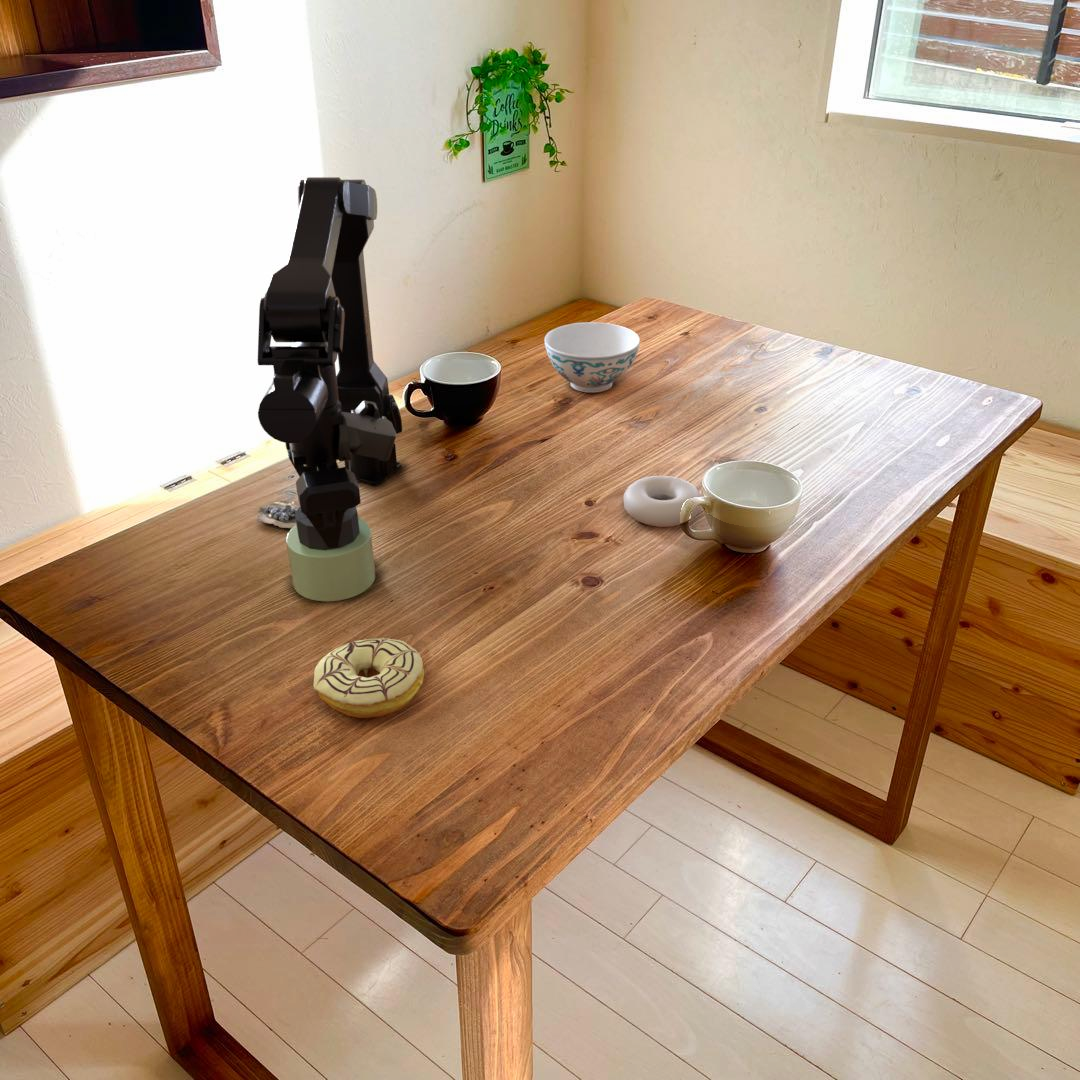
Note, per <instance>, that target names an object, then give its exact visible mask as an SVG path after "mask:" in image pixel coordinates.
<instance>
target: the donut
mask: <svg viewBox="0 0 1080 1080" xmlns="http://www.w3.org/2000/svg"><path fill="white" fill-rule="evenodd" d="M694 497H701V494H700V491H699V490H698V489H697V487H695V486H694V485H693V484H692V483H690V482H689V481H688V480H685V479H683V478H679V477H676V476H670V475H650V476H645V477H642V478H639V479H636V480H635V481H634V482H632V483H631V484H630V485H628V487H627V488H626V490H625V491H624V493H623V499H622V500H623V507H624V509H625V511H626V512H627V514H628V515H629V516H630V517H631V518H633V519H634V520H636V521H637V522H638V523H641V524H645V525H647V526H653V527H658V528H659V527H662V528H663V527H665V528H667V527H669V528H670V527H676V526H681V525H680V512H681V508H682V505H683V503H684V502H685V501H686V500H687V499H690V498H694ZM701 508H702V505H701V506H698V507H696V508H695V509H694V510H693V511H692V513H691V519H690V521H691V520H692V519H694V518H695V517H697V515H698V514H699V512H700V510H701Z"/></svg>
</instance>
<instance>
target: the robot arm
mask: <svg viewBox="0 0 1080 1080" xmlns="http://www.w3.org/2000/svg"><path fill="white" fill-rule="evenodd" d="M297 201H298V202H297V203H298V205H297V206H298V213H297V217H296V222H295V227H294V231H293V236H292V241H291V245H290V250H289V254H288V260H287V261H286V265H284V266H283V267H282V268H280V269H279V270H277V271H276V272H275V273H273V274H272V275H271V277H270V280H269V282H268V284H267V288H266V291H265V293H264V296H262V297H261V299H260V302H259V307H258V308H259V309H258V335H257V336H258V338H257V365H258V366H272V367H273V378H272V383H271V384H270V386H269V387H268V389H267V390H266V393H265V394H264V396H263V398H262V399H261V401H260V403H259V405H258V411H257V417H258V418H257V419H258V421H259V424H260V426H261V428H262V429H263V431H264V432H265V433H266V434H267V435H268V436H269V437H271V438H272V439H273V440H277V441H279V442H280V443H284V444H285V445H284V446H285V449H286V452H287V456H288V460H289V461H290V463H291V464H292V466H293V468H294V469H295V472H296V473H297V475H298V478H297V480H296V481H295V486H296V493H297V498H298V505H300V506H299V507H300V508H301V512H303V514H305V515H306V517H307V518H308V519H309V521H310V522H311V524H312V525H313V526H314V528H315V529H316V531H317V532H318V534H319V535H320V537H321V538H322V540H323V541H324V543H325V544H326V546H327V547H328V548H329V549H332V548H337V547H338V546H339V540H340V534H341V528H342V522H343V517H344V513H345V511H346V510H348V509H350V508H353V507H355V506H356V507H358V506H359V505H360V504H362V501H361V493H360V492H361V491H360V485H359V483H358V482H361V483H364V484H369V485H372V486H377V485H380V484H381V483H382V482H383V481H384V480H386V479H388V478H389V477H390V476H392V475H393V474H394V473H396V472H397V471H398V470H400V469H401V468H402V467H403V463H402V462H400V461H398V460H397V459H398V458H397V447H396V443H395V441H396V438H397V435H398V434H400V433H402V432H403V421H402V415H401V411H400V409H399V406H398V403H397V401H396V399H395V397H394V395H393V394H390V389H389V381H388V377H387V376H386V374H385V373H384V372H383V371H382V369H381V368H380V367H379V366H378V364H377V363H376V362H375V361H374V353H373V351H374V350H373V341H372V331H371V320H370V311H369V310H370V309H369V308H370V307H369V299H368V298H369V297H368V288H367V286H368V285H367V277H366V265H365V257H364V255H365V254H364V249H365V247H366V245H367V243H368V240H369V239H370V237H371V235H372V234H373V233H372V232H373V231H374V228H375V220H377V217H378V198H377V191H376V190H375V188H373V186H371V185H369V184H367V183H366V181H365V179H341V177H337V176H335V177H334V176H328V177H325V176H323V177H322V176H321V177H317V176H315V177H314V176H313V177H311V176H308V177H306V178H305V179H300V181H299V184H297ZM272 339H273V341H274V342H275V343H292V344H291V345H288V346H287V345H286V346H284V345H281V346H280V345H278V346H277V345H274V346H271V343H272ZM337 359H338V372H337V371H336V362H337ZM338 461H339V462H344V466H341V467H339V464H338Z"/></svg>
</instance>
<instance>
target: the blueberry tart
mask: <svg viewBox="0 0 1080 1080" xmlns="http://www.w3.org/2000/svg"><path fill="white" fill-rule="evenodd" d="M299 507H300V504H298V505H297V504H295V501H292V502H290V501H286V500H279V501H278V500H277V501H274V502H271V503H270V504H268V505H263V506H260V507H259V509H260V510H258V513H257V514H259V515H258V516H256V521H261V522H263V523H265V524H273V525H274V526H275V527H276V526H278V527H279V528H281V529H284V528H285V529H290V530H291V529H292V528H293V527H294V526H296V525H297V524H296V517H295V512H296V511H297V510H298V508H299Z"/></svg>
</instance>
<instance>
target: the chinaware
mask: <svg viewBox="0 0 1080 1080" xmlns="http://www.w3.org/2000/svg"><path fill="white" fill-rule="evenodd" d="M543 342H544V347H545V350H546V353H547V357H548V359H549V361H550V363H551V365H552V367H553V368H554V370H555V371H556V372H557V373H558V374H559V375H560V376H561V377H562V378H564V379H565V380H566V381H568V382H569V384H570V386H571V388H573V389H574V390H576V391H579V392H582V393H601V392H605V391H607V390H609V389H611V388H612V387H613V383H614V382H616V381H617V380H619V379H621V378H622V377H623V376H624V375H625V374H626V373H627V372H628V370H629V369H630V368H631V367H632V365H633V364H634V361H635V359H636V357H637V354H638V352H639V348H640V343H641V339H640V336H639V334H638V333H637V332H635V331H634V330H632V329H630V328H628V327H625V326H622V325H618V324H615V323H608V322H598V321H586V322H585V321H584V322H574V323H569V324H564V325H561V326H558V327H555V328H553V329H551V330H550V331H548V332H547V333H546V335H544V340H543Z"/></svg>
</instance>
